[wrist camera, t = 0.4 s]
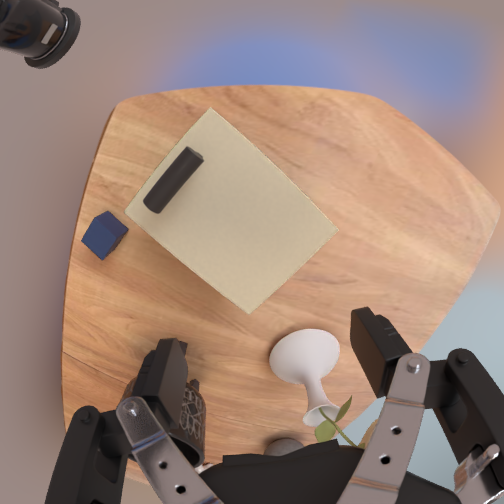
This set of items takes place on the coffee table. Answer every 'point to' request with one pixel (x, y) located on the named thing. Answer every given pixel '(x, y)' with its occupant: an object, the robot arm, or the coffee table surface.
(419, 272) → the coffee table surface
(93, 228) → the block
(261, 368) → the coffee table surface
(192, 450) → the planter
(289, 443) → the decorative ball
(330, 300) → the coffee table surface
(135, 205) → the lid
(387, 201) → the coffee table surface
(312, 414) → the flower in vase
